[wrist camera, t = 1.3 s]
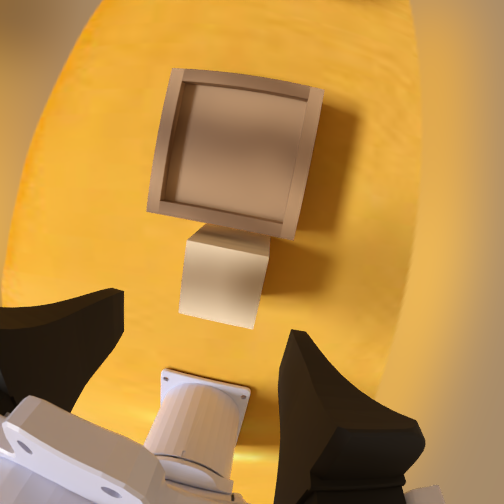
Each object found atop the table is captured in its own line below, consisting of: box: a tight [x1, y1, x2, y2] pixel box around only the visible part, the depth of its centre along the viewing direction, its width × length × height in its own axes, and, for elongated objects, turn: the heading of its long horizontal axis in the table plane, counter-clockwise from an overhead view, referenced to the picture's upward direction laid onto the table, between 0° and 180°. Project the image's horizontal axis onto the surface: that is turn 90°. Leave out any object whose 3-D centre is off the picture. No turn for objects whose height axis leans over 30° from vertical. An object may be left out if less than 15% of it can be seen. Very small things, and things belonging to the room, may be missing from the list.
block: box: [179, 223, 270, 329], centre depth 19 cm, size 4×4×5 cm
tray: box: [146, 68, 324, 241], centre depth 18 cm, size 9×9×3 cm
